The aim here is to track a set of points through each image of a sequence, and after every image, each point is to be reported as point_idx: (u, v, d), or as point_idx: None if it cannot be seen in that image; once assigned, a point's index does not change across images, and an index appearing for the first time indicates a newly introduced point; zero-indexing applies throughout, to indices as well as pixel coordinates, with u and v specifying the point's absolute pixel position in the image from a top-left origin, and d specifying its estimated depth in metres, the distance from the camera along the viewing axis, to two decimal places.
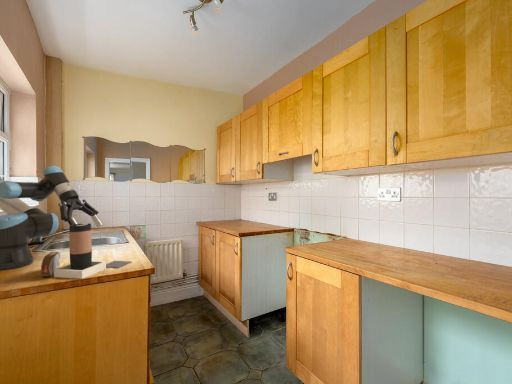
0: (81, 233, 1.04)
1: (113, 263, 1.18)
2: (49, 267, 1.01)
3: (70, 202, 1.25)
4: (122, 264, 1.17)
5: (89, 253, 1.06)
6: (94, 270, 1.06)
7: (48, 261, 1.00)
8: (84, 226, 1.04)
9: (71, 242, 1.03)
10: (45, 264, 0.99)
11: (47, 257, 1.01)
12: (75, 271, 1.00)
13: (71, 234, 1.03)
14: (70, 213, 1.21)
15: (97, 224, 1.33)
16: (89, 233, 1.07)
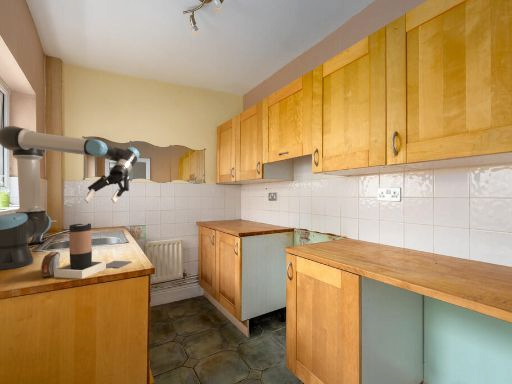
0: (81, 233, 1.04)
1: (113, 263, 1.18)
2: (49, 267, 1.01)
3: None
4: (122, 264, 1.17)
5: (89, 253, 1.06)
6: (94, 270, 1.06)
7: (48, 261, 1.00)
8: (84, 226, 1.04)
9: (71, 242, 1.03)
10: (45, 264, 0.99)
11: (47, 257, 1.01)
12: (75, 271, 1.00)
13: (71, 234, 1.03)
14: None
15: (88, 198, 1.19)
16: (89, 233, 1.07)
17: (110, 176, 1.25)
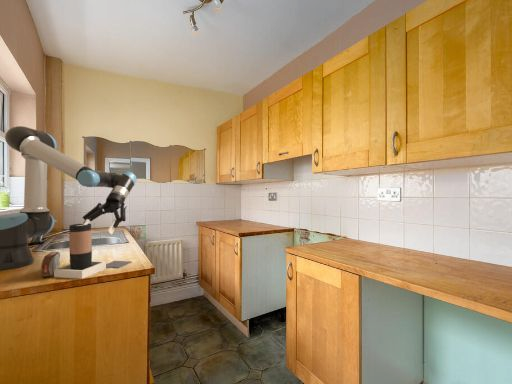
0: (81, 233, 1.04)
1: (113, 263, 1.18)
2: (49, 267, 1.01)
3: None
4: (122, 264, 1.17)
5: (89, 253, 1.06)
6: (94, 270, 1.06)
7: (48, 261, 1.00)
8: (84, 226, 1.04)
9: (71, 242, 1.03)
10: (45, 264, 0.99)
11: (47, 257, 1.01)
12: (75, 271, 1.00)
13: (71, 234, 1.03)
14: None
15: None
16: (89, 233, 1.07)
17: (106, 205, 1.21)
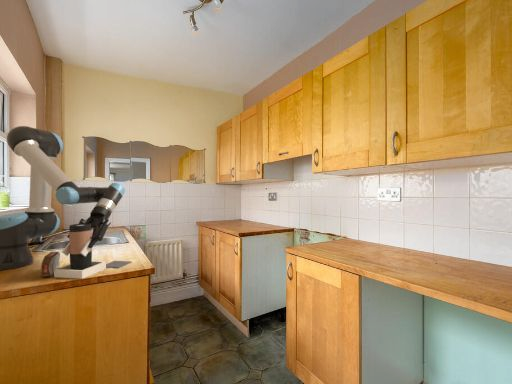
0: (81, 233, 1.04)
1: (113, 263, 1.18)
2: (49, 267, 1.01)
3: None
4: (122, 264, 1.17)
5: (89, 253, 1.06)
6: (94, 270, 1.06)
7: (48, 261, 1.00)
8: (84, 226, 1.04)
9: (71, 242, 1.03)
10: (45, 264, 0.99)
11: (47, 257, 1.01)
12: (75, 271, 1.00)
13: (71, 234, 1.03)
14: None
15: (67, 250, 1.05)
16: (89, 233, 1.07)
17: (90, 219, 1.13)
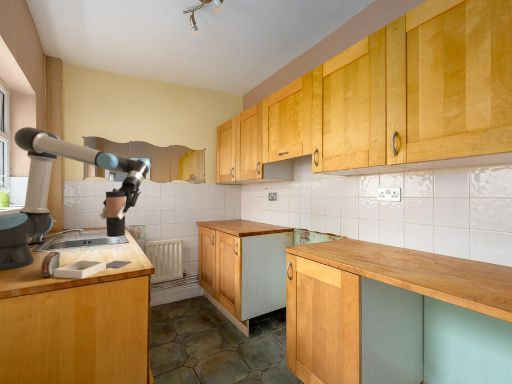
0: (117, 198, 1.14)
1: (113, 263, 1.18)
2: (49, 267, 1.01)
3: None
4: (122, 264, 1.17)
5: (123, 217, 1.17)
6: (94, 270, 1.06)
7: (48, 261, 1.00)
8: (119, 192, 1.15)
9: (108, 206, 1.14)
10: (45, 264, 0.99)
11: (47, 257, 1.01)
12: (75, 271, 1.00)
13: (108, 199, 1.14)
14: None
15: (104, 214, 1.15)
16: (123, 199, 1.17)
17: (122, 188, 1.24)
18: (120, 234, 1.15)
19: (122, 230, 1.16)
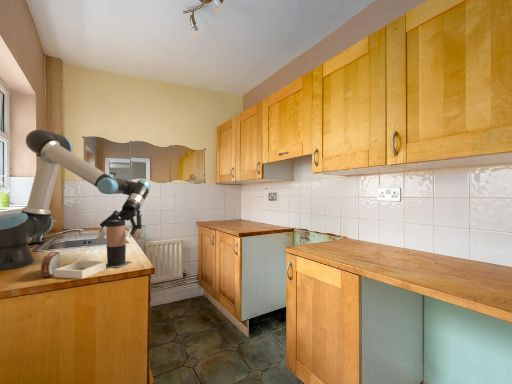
0: (117, 228, 1.14)
1: None
2: (49, 267, 1.01)
3: None
4: None
5: (124, 246, 1.17)
6: (94, 270, 1.06)
7: (48, 261, 1.00)
8: (120, 221, 1.15)
9: (108, 236, 1.14)
10: (45, 264, 0.99)
11: (47, 257, 1.01)
12: (75, 271, 1.00)
13: (108, 228, 1.14)
14: None
15: (100, 236, 1.17)
16: (124, 228, 1.17)
17: (122, 212, 1.24)
18: (120, 263, 1.16)
19: (122, 259, 1.17)
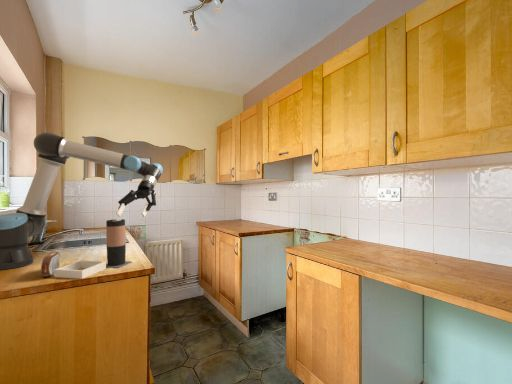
0: (117, 228, 1.14)
1: None
2: (49, 267, 1.01)
3: None
4: (122, 264, 1.17)
5: (124, 246, 1.17)
6: (94, 270, 1.06)
7: (48, 261, 1.00)
8: (120, 221, 1.15)
9: (108, 236, 1.14)
10: (45, 264, 0.99)
11: (47, 257, 1.01)
12: (75, 271, 1.00)
13: (108, 228, 1.14)
14: None
15: (119, 212, 1.29)
16: (124, 228, 1.17)
17: (138, 191, 1.36)
18: (120, 263, 1.16)
19: (122, 259, 1.17)
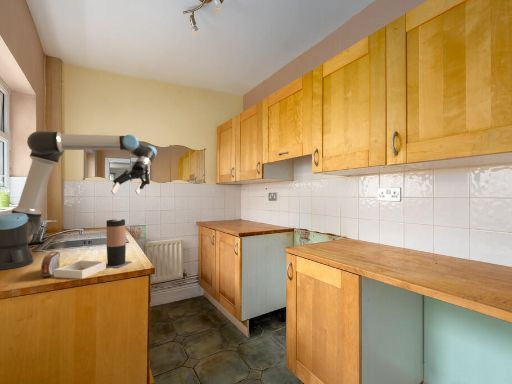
0: (117, 228, 1.14)
1: None
2: (49, 267, 1.01)
3: None
4: (122, 264, 1.17)
5: (124, 246, 1.17)
6: (94, 270, 1.06)
7: (48, 261, 1.00)
8: (120, 221, 1.15)
9: (108, 236, 1.14)
10: (45, 264, 0.99)
11: (47, 257, 1.01)
12: (75, 271, 1.00)
13: (108, 228, 1.14)
14: None
15: (114, 190, 1.34)
16: (124, 228, 1.17)
17: (132, 171, 1.41)
18: (120, 263, 1.16)
19: (122, 259, 1.17)
